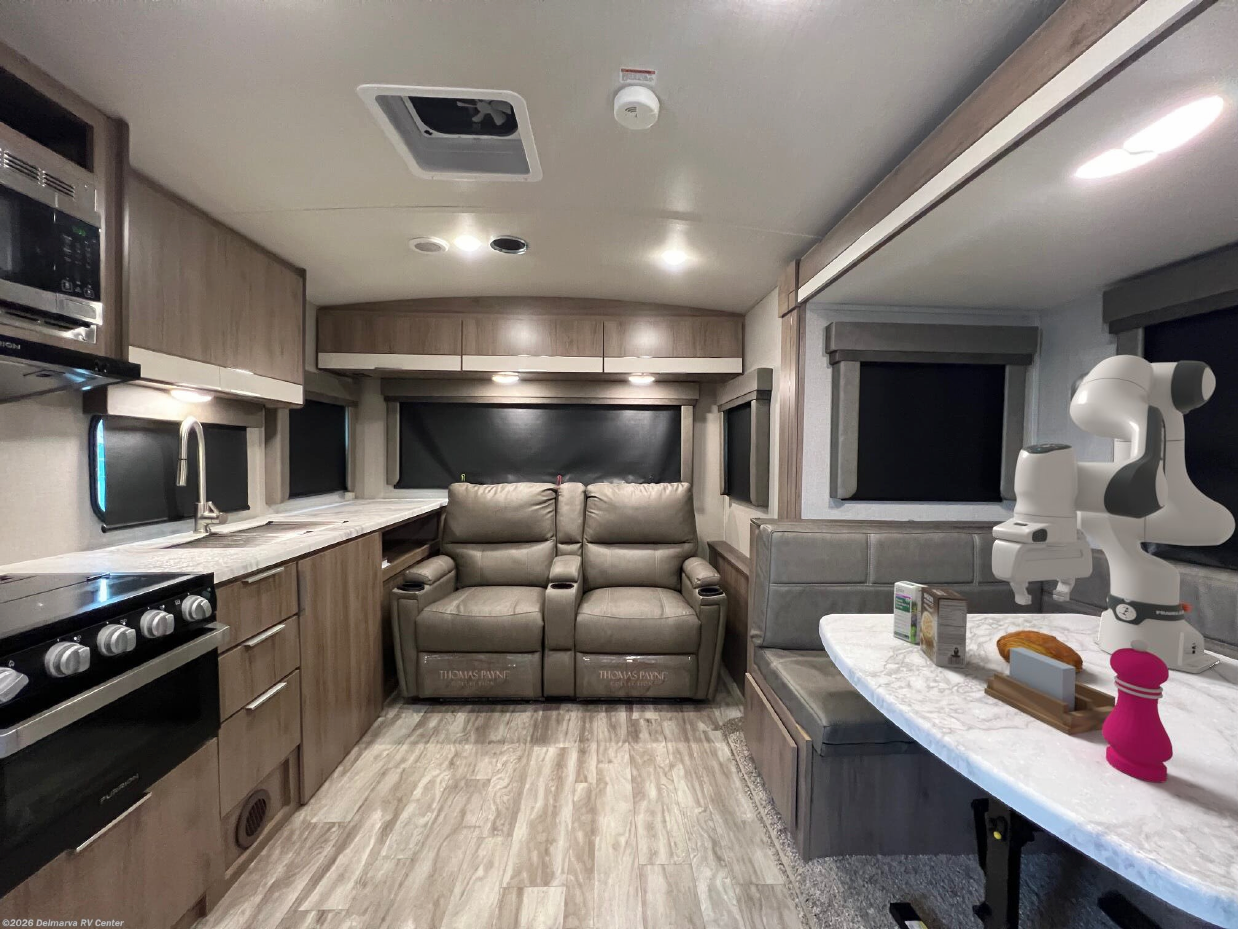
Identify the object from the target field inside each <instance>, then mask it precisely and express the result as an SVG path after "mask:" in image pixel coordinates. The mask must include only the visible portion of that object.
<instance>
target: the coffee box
mask: <svg viewBox="0 0 1238 929" xmlns="http://www.w3.org/2000/svg"><path fill="white" fill-rule="evenodd" d="M967 618H968V598H966V597H964V596H963V595H962V594H959V593H958V592H956V591H955V590H953V589H951V588H950V587H935V586H927V587H921V625H920V642H919V651H921V653H923V654H924V655H925V656H926V657H927V659H929V660H930V661H931V662H932V663H933V664H934V665H936V666H937V667H946V668H947V667H950V668H959V669H960V668H961V669H966V658H967V656H966V654H967V653H966V651H967V623H968V622H967V620H968V619H967Z"/></svg>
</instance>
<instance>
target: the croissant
mask: <svg viewBox="0 0 1238 929" xmlns="http://www.w3.org/2000/svg"><path fill="white" fill-rule="evenodd" d="M1019 647H1023V648H1025V649H1028V650H1031V651H1033V652H1036V653H1039V654H1041V655H1044V656H1046V657H1049V658H1052V659H1054V660H1057V661H1060V662H1062V663H1065V664H1068V665H1070V666H1073V667H1075V675H1076V674H1077V673H1080V672H1081V670H1083V666H1084V661H1083V658H1082V657H1081V655H1080V654H1079V653H1078V652H1077V651H1075V649H1073V647H1071V646H1069V645H1068V644H1066V643H1065V642H1063V641H1060V640H1059V639H1058V638H1057V637H1056V636H1054V635H1051V634H1047V633H1044V632H1040V631H1036V630H1032V629H1031V630H1030V629H1029V630H1024V629H1023V630H1016V631H1014V632H1009V633H1007V634H1005V635H1002V636H999V638H998V639H997V641H996V649H997V650H998V654H999V656H1000V657H1001V658H1002V659H1003V660H1005V661H1006V662H1007V663H1008V664H1010V648H1019Z"/></svg>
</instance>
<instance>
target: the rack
mask: <svg viewBox="0 0 1238 929" xmlns="http://www.w3.org/2000/svg"><path fill="white" fill-rule="evenodd" d="M986 682H987V683H986V684H987V685H986V687H984V688H983V689H984V690H983V691H984V694H986V695H988V696H990V697H992V698H994V699H996V700H997V701H1000V702H1001V703H1004V704H1006V705H1008V706H1009V707H1012V708H1014V709H1016V710H1018V711H1020V712H1021V713H1024V714H1026V715H1027V716H1030V717H1032V718H1034V719H1035V720H1037V721H1040V722H1041V723H1044V724H1046V725H1047V726H1049V727H1052V728H1053V729H1056V730H1058V731H1060V732H1061V733H1063V734H1065V735H1068V736H1069V735H1075V734H1081V733H1087V732H1092V731H1098V730H1102V729H1103V724H1104V722H1105V720H1106V718H1107V717H1108V716H1109V714H1110V713H1111V712H1112V711H1113V709H1114V708H1115V705H1116V696H1113V695H1111V694H1108V693H1107V692H1104V691H1102V690H1099V689H1096V688H1093V687H1092V686H1088V685H1086V684H1085V683H1081V682H1079V681H1076V680H1075V702H1074V712H1069V713H1068V709H1069V704H1067V703H1065V702H1063V701H1060V700H1058V699H1056V698H1054V697H1051V696H1049V695H1047V694H1045V693H1043V692H1040V691H1038V690H1036V689H1034V688H1031V687H1029V686H1027V685H1025V684H1022V683H1020V682H1018V681H1016V680H1013V679H1011V678H1009V674H1007V675H1006V674H1005V675H1004V674H1002V673H1000V672H995V673H993V676H992V677H987V681H986Z"/></svg>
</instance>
